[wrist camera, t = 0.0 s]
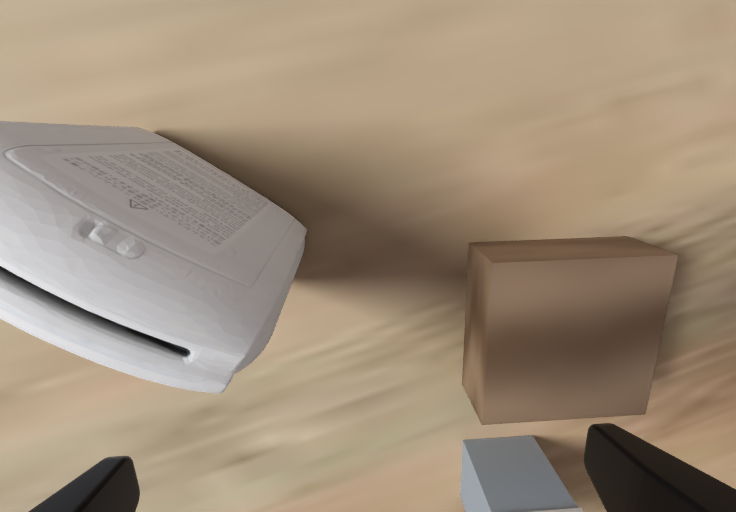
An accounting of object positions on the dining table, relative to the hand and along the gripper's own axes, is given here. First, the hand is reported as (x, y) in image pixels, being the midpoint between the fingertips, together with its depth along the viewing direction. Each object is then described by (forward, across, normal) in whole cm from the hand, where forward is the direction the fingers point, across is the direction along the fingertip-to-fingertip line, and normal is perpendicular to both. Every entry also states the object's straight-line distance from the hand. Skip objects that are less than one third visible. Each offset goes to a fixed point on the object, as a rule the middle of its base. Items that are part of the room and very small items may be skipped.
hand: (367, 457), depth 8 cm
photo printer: (+15, +7, -3) cm, 17 cm away
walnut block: (+15, -11, +4) cm, 19 cm away
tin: (+15, -9, +15) cm, 23 cm away
